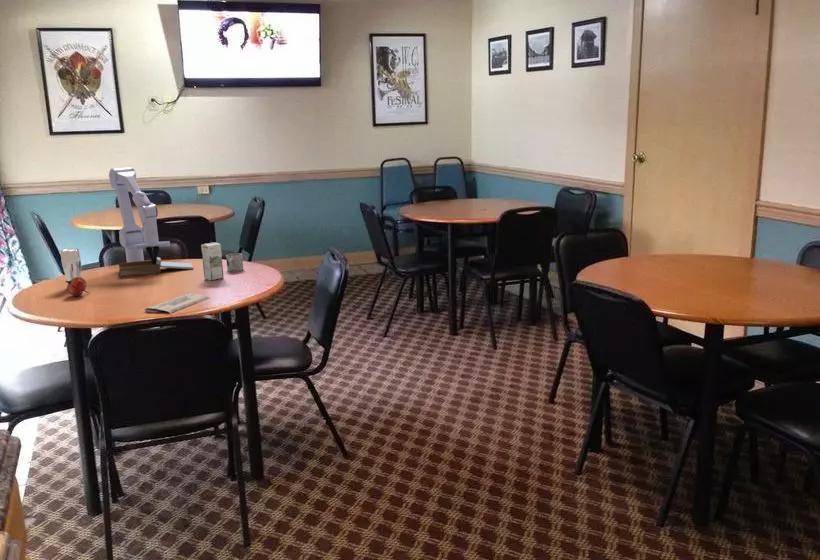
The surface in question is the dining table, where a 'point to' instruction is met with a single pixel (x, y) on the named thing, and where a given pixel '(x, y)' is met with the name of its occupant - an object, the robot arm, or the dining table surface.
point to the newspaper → (177, 303)
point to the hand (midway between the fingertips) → (154, 264)
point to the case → (138, 268)
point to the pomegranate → (76, 286)
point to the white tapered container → (71, 263)
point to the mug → (234, 262)
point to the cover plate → (173, 264)
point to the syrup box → (212, 261)
